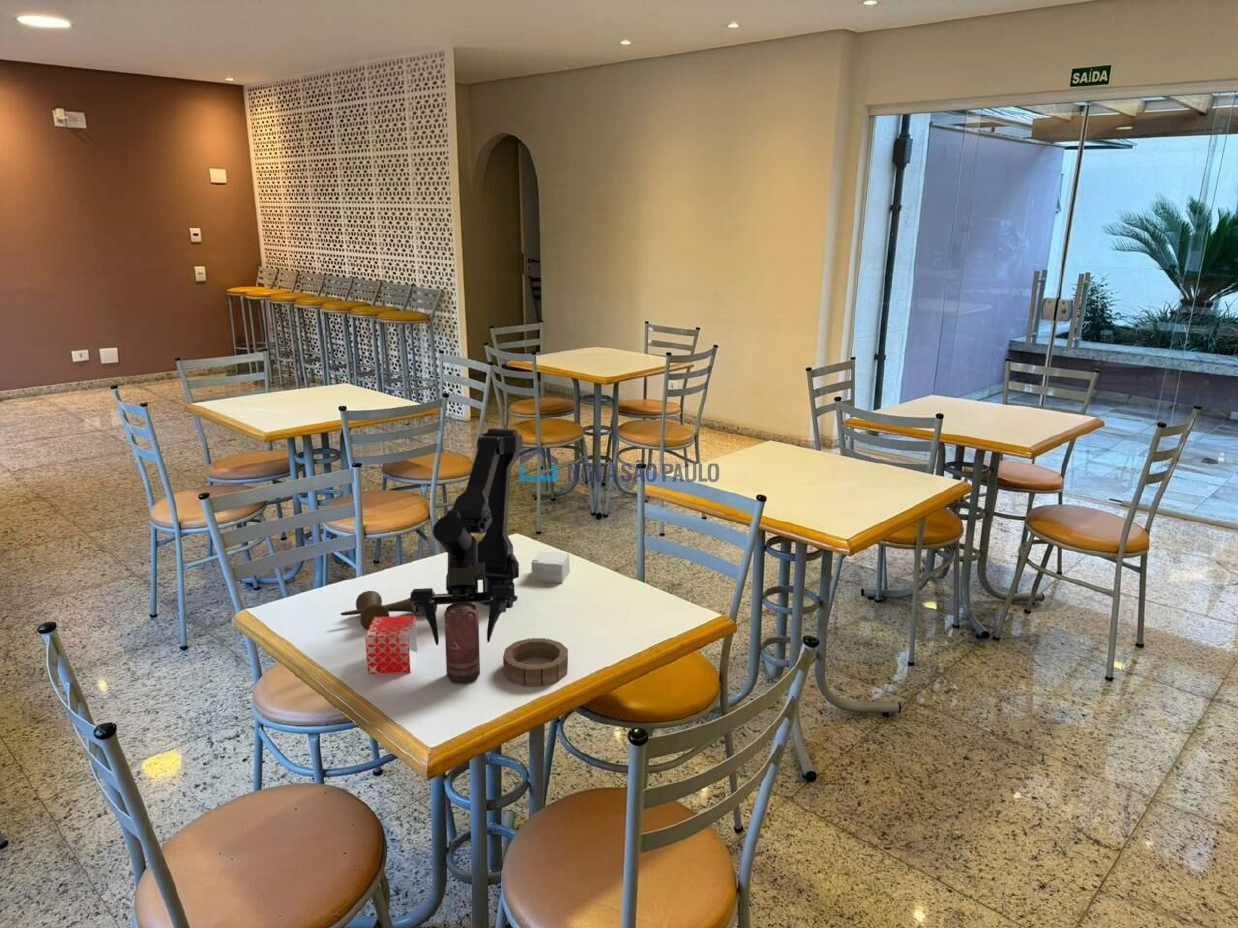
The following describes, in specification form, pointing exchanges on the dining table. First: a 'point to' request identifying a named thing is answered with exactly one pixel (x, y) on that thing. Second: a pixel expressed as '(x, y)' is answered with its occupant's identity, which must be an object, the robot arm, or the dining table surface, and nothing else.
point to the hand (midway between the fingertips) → (462, 642)
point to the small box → (550, 567)
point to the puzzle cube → (391, 645)
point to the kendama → (377, 608)
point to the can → (462, 642)
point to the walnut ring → (535, 673)
